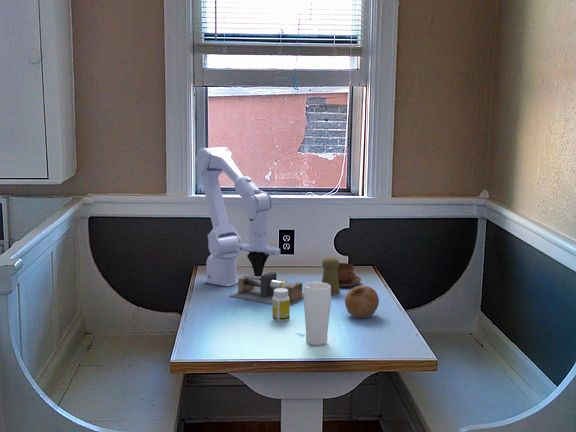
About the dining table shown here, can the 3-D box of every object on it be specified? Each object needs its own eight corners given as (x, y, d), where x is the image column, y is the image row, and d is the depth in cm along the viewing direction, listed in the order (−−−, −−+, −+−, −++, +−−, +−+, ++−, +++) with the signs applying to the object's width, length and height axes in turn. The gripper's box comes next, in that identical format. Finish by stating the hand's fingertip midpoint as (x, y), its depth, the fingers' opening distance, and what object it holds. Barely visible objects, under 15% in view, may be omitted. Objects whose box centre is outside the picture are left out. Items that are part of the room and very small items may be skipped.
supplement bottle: (291, 317, 203) (292, 288, 202) (286, 322, 199) (286, 293, 197) (275, 315, 205) (275, 286, 203) (269, 320, 200) (269, 291, 199)
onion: (358, 331, 202) (352, 304, 196) (342, 312, 209) (335, 286, 204) (387, 316, 204) (382, 289, 198) (370, 298, 212) (365, 272, 206)
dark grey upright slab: (260, 295, 221) (260, 276, 220) (270, 290, 226) (270, 271, 225) (266, 296, 220) (266, 277, 219) (276, 291, 225) (276, 272, 224)
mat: (229, 296, 222) (229, 295, 222) (254, 285, 234) (254, 284, 234) (286, 307, 212) (286, 306, 212) (309, 295, 224) (309, 294, 224)
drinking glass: (301, 338, 187) (302, 282, 184) (328, 337, 188) (329, 281, 185) (304, 348, 180) (305, 289, 178) (331, 347, 181) (333, 289, 178)
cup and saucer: (366, 282, 239) (367, 264, 238) (349, 291, 229) (350, 272, 228) (334, 277, 245) (335, 259, 244) (316, 285, 235) (317, 267, 234)
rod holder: (238, 292, 225) (238, 277, 224) (249, 287, 230) (249, 272, 229) (291, 302, 216) (291, 286, 215) (302, 297, 221) (302, 281, 220)
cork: (340, 290, 230) (340, 256, 228) (339, 295, 224) (340, 260, 222) (320, 289, 230) (321, 255, 228) (319, 294, 225) (320, 260, 223)
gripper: (231, 232, 222) (231, 275, 224) (271, 237, 215) (271, 282, 217) (243, 228, 228) (244, 270, 230) (283, 233, 221) (283, 276, 223)
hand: (258, 275), depth 224 cm, fingers closed
